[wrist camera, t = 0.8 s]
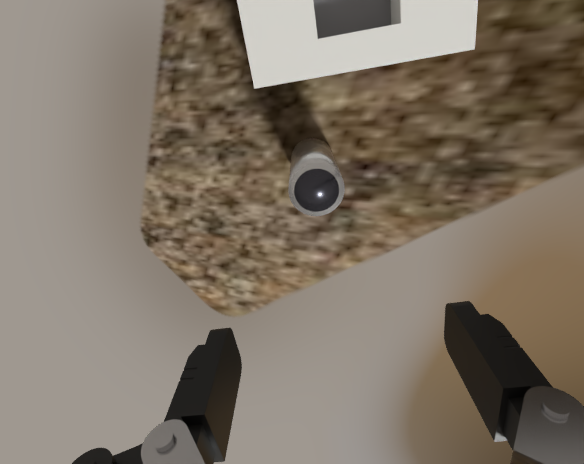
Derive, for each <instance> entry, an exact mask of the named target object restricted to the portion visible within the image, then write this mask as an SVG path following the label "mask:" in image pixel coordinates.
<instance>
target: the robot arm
mask: <svg viewBox="0 0 584 464" xmlns="http://www.w3.org/2000/svg"><path fill="white" fill-rule="evenodd" d="M444 339H445V344H446V348H447V350H448V353H449V355H450V357H451V359H452V361H453V363H454V365H455V367H456V369H457V370H458V372H459V374H460V376H461V378H462V380H463V382H464V384H465V386H466V388H467V390H468V392H469V394H470V396H471V398H472V399H473V401H474V403H475V405H476V407H477V409H478V411H479V413H480V415H481V417H482V419H483V421H484V423H485V425H486V426H487V428H488V430H489V432H490V434H491V436H492V438H493V440H494V441H495V442H497V441H508V443H509V445H510V446H511V448H512V450H513V453H512V458H511V463H510V464H584V406H582V405H581V403H580V402H579V401H577V400H576V399H575V398H574V397H572V396H571V395H569V394H567V393H565V392H564V391H561V390H559V389H556V388H553V387H552V386H551V385H550V383H549V382H548V381H547V379H546V378H545V377H544V376H543V374H542V373H541V372H540V370H539V369H538V368H537V367H536V366H535V364H534V363H533V362H532V360H531V359H530V358H529V356H528V355H527V354H526V353H525V351H524V350H523V349H522V348H520V345H519V344H518V343H517V341H516V340H515V339H514V338H512V335H511V334H510V332H509V331H508V330H507V329H506V327H505V326H504V325H503V324H502V323H501V322H500V321H498V320H497V319H495V318H494V317H492V316H491V315H489V314H485V315H480V314H479V313H478V311H477V310H476V309H475V307H474V306H473V304H472V303H471V302H469V301H465V302H457V303H448V304H446V308H445V328H444ZM241 369H242V364H241V357H240V353H239V350H238V347H237V344H236V341H235V338H234V334H233V331H232V329H231V328H224V329H215V330H211V331H210V332H209V335H208V338H207V341H206V344H205V345H198V346H197V347H196V348H195V350H194V351H193V352H192V353H191V355H190V356H189V357H188V360H187V362H186V365H185V368H184V371H183V373H182V375H181V378H180V381H179V384H178V386H177V389H176V392H175V394H174V397H173V399H172V402H171V404H170V407H169V410H168V412H167V415H166V418H165V420H164V422H163V423H161V424H159V425H158V426H156V427H155V428H154V429H153V430H152V431H151V432H150V433H149V434H148V435H147V437H146V438H145V440H144V442H143V443H142V444H140V445H139V446H136V447H134V448H131V449H129V450H126V451H124V452H122V453H119V454H117V455H114V456H112V454H111V452H110V451H109V450H107V449H105V448H96V449H93V450H90V451H88V452H86V453H84V454H83V455H81V456H80V457H78V458H77V459H76V460H75V461H74V462H73V463H72V464H213V463H214V462H223V461H225V456H226V450H227V445H228V441H229V435H230V430H231V425H232V419H233V414H234V408H235V403H236V398H237V393H238V388H239V382H240V377H241Z"/></svg>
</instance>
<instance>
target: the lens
mask: <svg viewBox="0 0 584 464" xmlns="http://www.w3.org/2000/svg"><path fill="white" fill-rule="evenodd" d="M344 190H345V189H344V182H343V179H342V176H341V174H340V171H339V168H338V166H337V163H336V161H335V158H334V155H333V153H332V150H331V148H330V147H329V145H328V144H327V143H326V142H324V141H323V140H321V139H318V138H307V139H304V140H302V141H301V142H299V143H298V144H297V145H296V146H295V148H294V149H293V152H292V155H291V166H290V178H289V197H290V200H291V202H292V204H293V205H294V206H295V207H296V208H297V209H298V210H299V211H300V212H302V213H304V214H307V215H311V216H321V215H325V214H328V213H330V212H331V211H333V210H334V209H335V208H337V206H338V205H339V204H340V203H341V201H342V199H343V196H344Z"/></svg>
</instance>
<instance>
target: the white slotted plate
mask: <svg viewBox="0 0 584 464" xmlns="http://www.w3.org/2000/svg"><path fill="white" fill-rule="evenodd" d="M237 3H238V9H239V14H240V19H241V24H242V29H243V34H244V39H245V44H246V49H247V54H248V59H249V64H250V69H251V74H252V79H253V84H254V89H256V88H261V87H267V86H272V85H278V84H284V83H289V82H295V81H300V80H306V79H311V78H317V77H323V76H328V75H334V74H339V73H345V72H350V71H356V70H362V69H367V68H373V67H378V66H384V65H389V64H395V63H401V62H406V61H412V60H417V59H423V58H429V57H434V56H440V55H445V54H451V53H456V52H462V51H468V50H473V49H475V38H476V23H477V8H478V0H237Z"/></svg>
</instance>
